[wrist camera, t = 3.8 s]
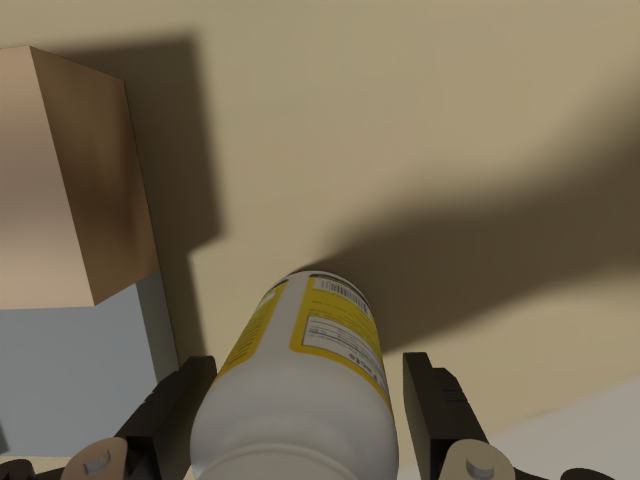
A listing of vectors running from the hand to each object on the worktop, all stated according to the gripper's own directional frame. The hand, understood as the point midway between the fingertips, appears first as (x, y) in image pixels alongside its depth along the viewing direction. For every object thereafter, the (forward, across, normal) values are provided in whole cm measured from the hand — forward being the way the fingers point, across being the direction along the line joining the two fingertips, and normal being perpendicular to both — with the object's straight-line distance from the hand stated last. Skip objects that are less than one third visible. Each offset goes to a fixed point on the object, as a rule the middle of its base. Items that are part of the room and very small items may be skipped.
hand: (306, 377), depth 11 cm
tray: (+4, +13, +2) cm, 14 cm away
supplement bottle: (+4, 0, 0) cm, 4 cm away
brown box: (+4, +13, -7) cm, 15 cm away
